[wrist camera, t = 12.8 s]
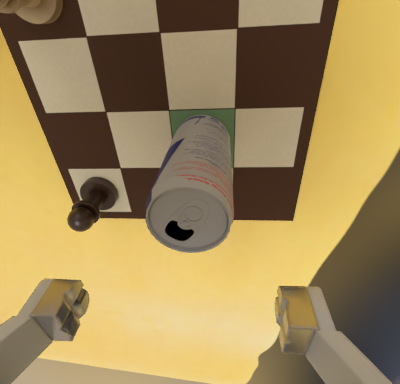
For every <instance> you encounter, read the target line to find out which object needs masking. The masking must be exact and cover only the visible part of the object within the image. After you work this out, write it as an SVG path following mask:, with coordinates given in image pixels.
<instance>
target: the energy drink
mask: <svg viewBox="0 0 400 384" xmlns="http://www.w3.org/2000/svg"><path fill="white" fill-rule="evenodd" d="M233 218H234V205H233V186H232V168H231V150H230V136H229V133H228V131H227V129H226V127H225V126H224V125H223V123H222V122H220V121H219V120H218V119H216V118H214V117H212V116H209V115H194V116H191V117H189V118H187V119H185V120H184V121H183V122H182V123H181V124H180V125H179V126H178V128H177V130H176V132H175V135H174V137H173V139H172V142H171V144H170V146H169V149H168V151H167V153H166V156H165V158H164V160H163V163H162V165H161V167H160V170H159V172H158V174H157V177H156V179H155V181H154V184H153V186H152V188H151V191H150V193H149V195H148V198H147V201H146V223H147V227H148V229H149V231H150V232H151V234H152V235H153V236H154V237H155V239H157V240H158V241H159V242H160V243H162V244H163V245H165V246H167V247H169V248H171V249H174V250H177V251H181V252H189V253H195V252H203V251H207V250H210V249H212V248H214V247H216V246H218V245H219V244H220V243H222V242H223V241H224V239H225V238H226V237H227V235H228V233H229V231H230V226H231V224H232V222H233Z"/></svg>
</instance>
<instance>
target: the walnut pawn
mask: <svg viewBox="0 0 400 384" xmlns="http://www.w3.org/2000/svg"><path fill="white" fill-rule="evenodd" d="M80 196H81V198H82V200H80V201H77V202H76V203H75V204H74V205H73V206H72V211H71V212H70V213H69V215H68V219H67V221H68V225H69V226H70V228H71V229H73V230H75V231H79V232H82V231H86V230H88V229H89V228H90V227H91V226H92V225H93V223H95V222H97V221H98V219H99V218H100V210H108V209H110V208H112V207H113V206H114V204H115V203H116V201H117V199H118V191H117V189H116V187H115V186H114V184H113V183H111V182H110V181H109V180H107V179H105V178H102V177H91V178H89V179H87V180H86V181H85V182H84V184H83V185H82V186H81V188H80Z"/></svg>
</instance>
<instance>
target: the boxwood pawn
mask: <svg viewBox="0 0 400 384" xmlns="http://www.w3.org/2000/svg"><path fill="white" fill-rule="evenodd" d="M62 7H63V0H0V12H1V13H8V14H11V13H16V14H17V15H18V16H20V17H21V18H22V19H24V20H26V21H28V22H30V23H33V24H49V23H52V22H54V21H55V20H56V19H57V18H58V17H59V16H60V14H61V11H62Z"/></svg>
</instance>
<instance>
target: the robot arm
mask: <svg viewBox="0 0 400 384" xmlns="http://www.w3.org/2000/svg"><path fill="white" fill-rule="evenodd" d="M82 287H83V283H82V281H81V280H67V279H43V280H42V281H41V282H40V283H39V284H38V286H37V287H36V289H35V290H34V292H33V293H32V294H31V296H30V297H29V299H28V300H27V302H26V303H25V305H24V306H23V307H22V309H21V310H20V312H19V313H18V315H17V316H13V317H11V318H10V319H8V320H7V321H6V322H4V323H3V324H1V325H0V384H11V383H12V382H13V381H14V380H15V379H16V378H17V377H18V376H19V375H20V374H21V373H22V372H23V371H24V370H25V369H26V368H27V367H28V366H29V365H30V364H31V363H32V362H33V361H34V360H35V359H36V358H37V357H38V356H39V355H40V354H41V353H42V352H43V351H44V350H45V349H46V348H47V347H48V346H49V345H50V344H51V343H52V340H53V341H73V339H74V336H75V334H76V332H77V330H78V328H79V326H80V321H79V318H81V317H82V316H83V315H84V314H85V313H86V310H87V308H88V304H89V294H88V292H87V291H86V290H85V289H83V288H82ZM277 293H278V297H276V300H275V314H276V321H277V323H278V324H279V326H280V331H279V338H280V344H281V349H282V353H293V354H305V355H306V357H307V359H308V360H309V362H310V363H311V364H312V366H313V367H314V369H315V370H316V371H317V373H318V374H319V376H320V377H321V378H322V380H323V381H324V382H325V384H392V383H391V382H390V381H389V380H388V379H387V378H386V377H385V376H384V374H382V373H381V372H380V371H379V370H378V368H377V367H375V365H374V364H373V363H372V362H370V360H369V359H368V358H366V356H365V355H364V354H363V353H362V352H361V351H360V350H359V349H358V348H357V347H356V346H355V345H354V344H353V343H352V342H351V341H350V340H349V339H348V338H347V337H346V336H345V335H344V334H343V333H342V332H340V331H336V329H335V326H334V323H333V321H332V318H331V315H330V312H329V309H328V307H327V304H326V301H325V298H324V296H323V293H322V291H321V289H320V288H319V287H305V286H279V287H278V290H277Z"/></svg>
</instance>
